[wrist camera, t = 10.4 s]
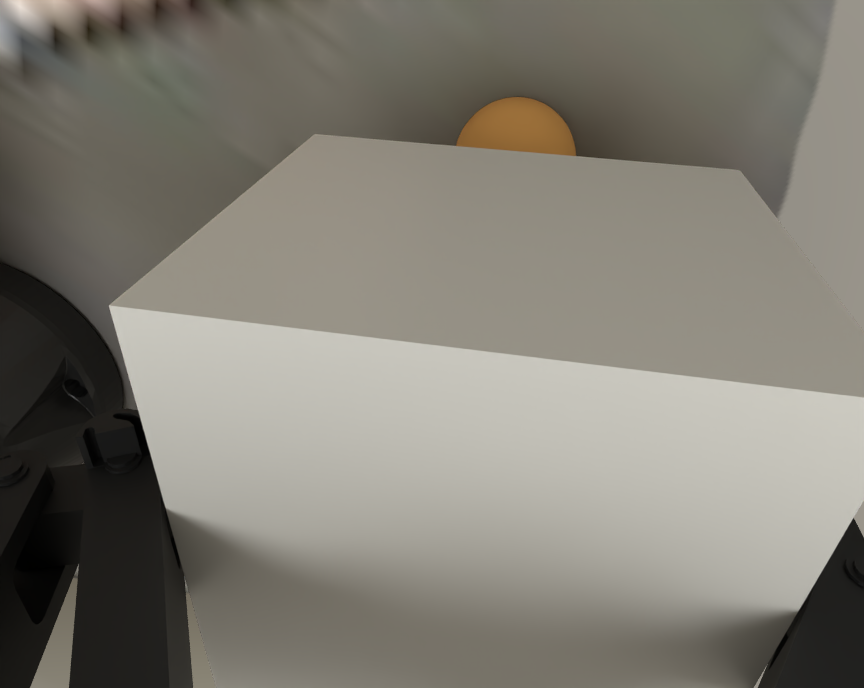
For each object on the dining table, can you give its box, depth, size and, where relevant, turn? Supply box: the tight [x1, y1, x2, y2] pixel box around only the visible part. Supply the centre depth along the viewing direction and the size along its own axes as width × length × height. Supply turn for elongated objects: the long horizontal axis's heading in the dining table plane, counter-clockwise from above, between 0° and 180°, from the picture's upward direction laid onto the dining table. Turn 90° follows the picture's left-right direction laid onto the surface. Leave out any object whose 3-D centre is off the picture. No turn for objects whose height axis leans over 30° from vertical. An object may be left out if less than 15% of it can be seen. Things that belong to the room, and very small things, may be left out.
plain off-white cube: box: [109, 134, 864, 688], centre depth 14 cm, size 10×10×9 cm
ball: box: [456, 97, 576, 156], centre depth 26 cm, size 5×5×5 cm
